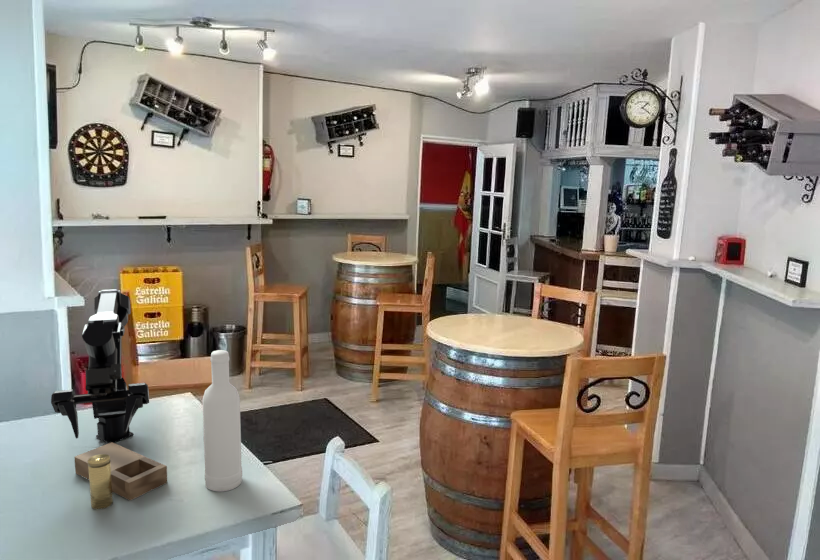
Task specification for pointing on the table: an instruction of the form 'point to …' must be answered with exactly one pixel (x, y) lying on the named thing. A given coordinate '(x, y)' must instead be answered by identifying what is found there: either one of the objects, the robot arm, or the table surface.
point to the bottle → (221, 428)
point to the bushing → (100, 481)
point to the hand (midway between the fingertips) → (101, 434)
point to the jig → (126, 470)
